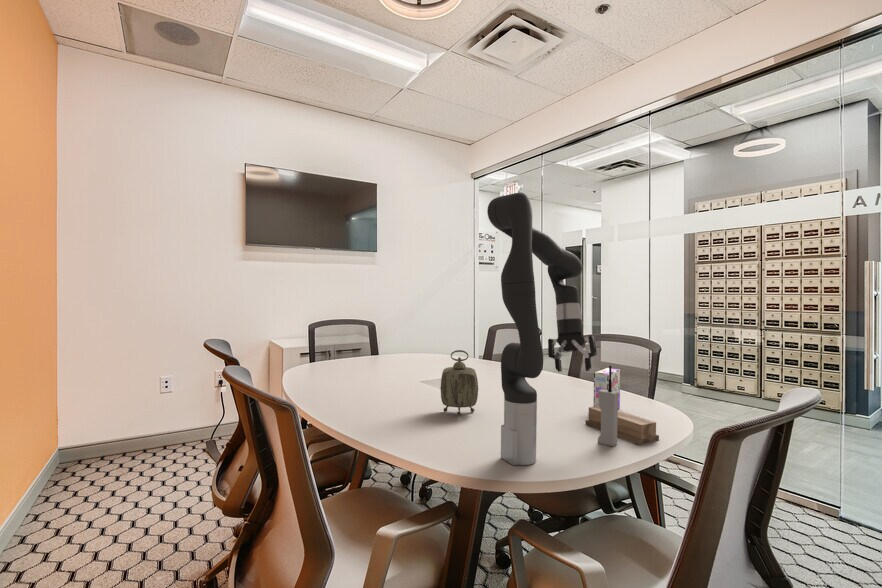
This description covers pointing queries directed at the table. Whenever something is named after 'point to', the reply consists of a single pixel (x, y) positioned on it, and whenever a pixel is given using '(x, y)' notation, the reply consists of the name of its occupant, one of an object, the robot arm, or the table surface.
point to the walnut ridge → (627, 426)
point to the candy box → (606, 383)
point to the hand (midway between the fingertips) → (573, 371)
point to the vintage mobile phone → (608, 415)
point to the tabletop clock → (459, 385)
